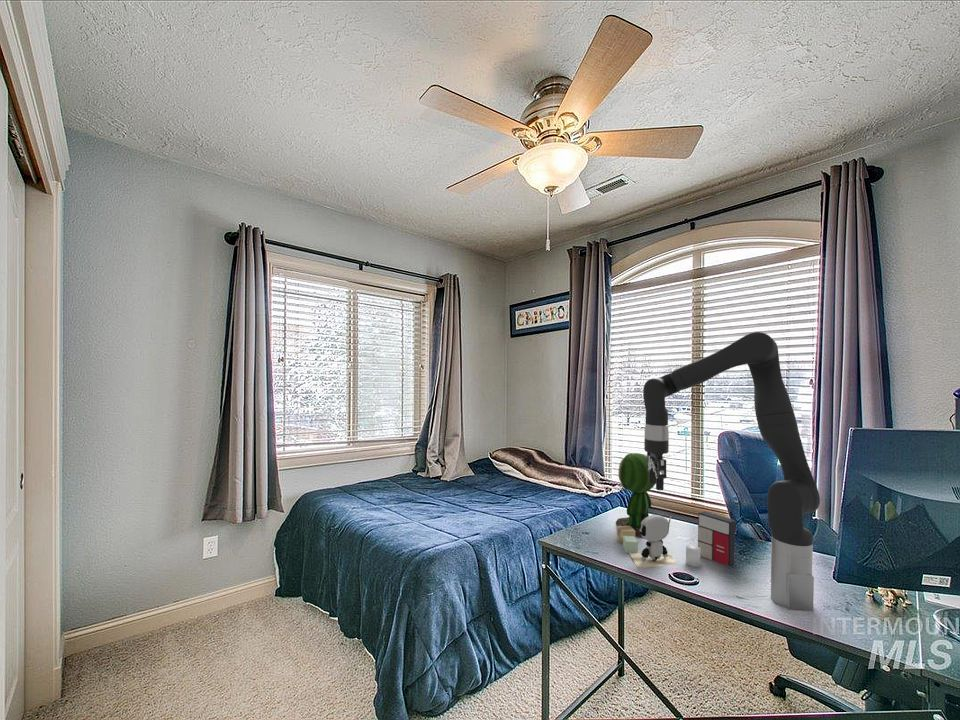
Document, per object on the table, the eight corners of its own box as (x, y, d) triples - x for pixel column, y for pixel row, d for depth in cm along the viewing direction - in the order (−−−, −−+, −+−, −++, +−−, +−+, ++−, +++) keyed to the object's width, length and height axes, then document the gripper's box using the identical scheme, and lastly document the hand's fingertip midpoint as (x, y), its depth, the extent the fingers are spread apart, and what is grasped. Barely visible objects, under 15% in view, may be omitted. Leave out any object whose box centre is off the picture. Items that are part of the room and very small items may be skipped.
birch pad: (683, 572, 142) (683, 571, 142) (637, 569, 143) (637, 568, 143) (671, 556, 154) (671, 554, 154) (629, 553, 155) (629, 552, 155)
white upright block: (702, 569, 144) (702, 551, 144) (688, 568, 145) (688, 550, 145) (697, 563, 149) (697, 545, 149) (683, 562, 149) (684, 544, 149)
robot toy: (662, 554, 154) (662, 510, 154) (672, 559, 150) (672, 515, 150) (634, 559, 150) (634, 515, 150) (643, 565, 146) (644, 519, 146)
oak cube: (635, 544, 163) (635, 531, 163) (621, 544, 163) (622, 531, 163) (629, 539, 168) (629, 525, 168) (616, 539, 168) (617, 526, 168)
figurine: (625, 516, 192) (626, 447, 191) (672, 529, 178) (673, 454, 178) (606, 527, 179) (606, 453, 179) (654, 541, 165) (655, 461, 165)
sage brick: (637, 553, 156) (637, 541, 156) (626, 552, 156) (626, 541, 156) (634, 547, 161) (634, 536, 161) (622, 546, 161) (623, 535, 161)
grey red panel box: (696, 556, 154) (696, 512, 154) (703, 553, 156) (703, 510, 156) (728, 568, 145) (729, 522, 145) (735, 565, 147) (736, 520, 147)
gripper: (675, 442, 141) (674, 493, 141) (661, 434, 155) (661, 481, 155) (650, 441, 142) (650, 492, 142) (639, 434, 156) (639, 480, 156)
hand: (655, 486), depth 148 cm, fingers open, 8 cm apart
